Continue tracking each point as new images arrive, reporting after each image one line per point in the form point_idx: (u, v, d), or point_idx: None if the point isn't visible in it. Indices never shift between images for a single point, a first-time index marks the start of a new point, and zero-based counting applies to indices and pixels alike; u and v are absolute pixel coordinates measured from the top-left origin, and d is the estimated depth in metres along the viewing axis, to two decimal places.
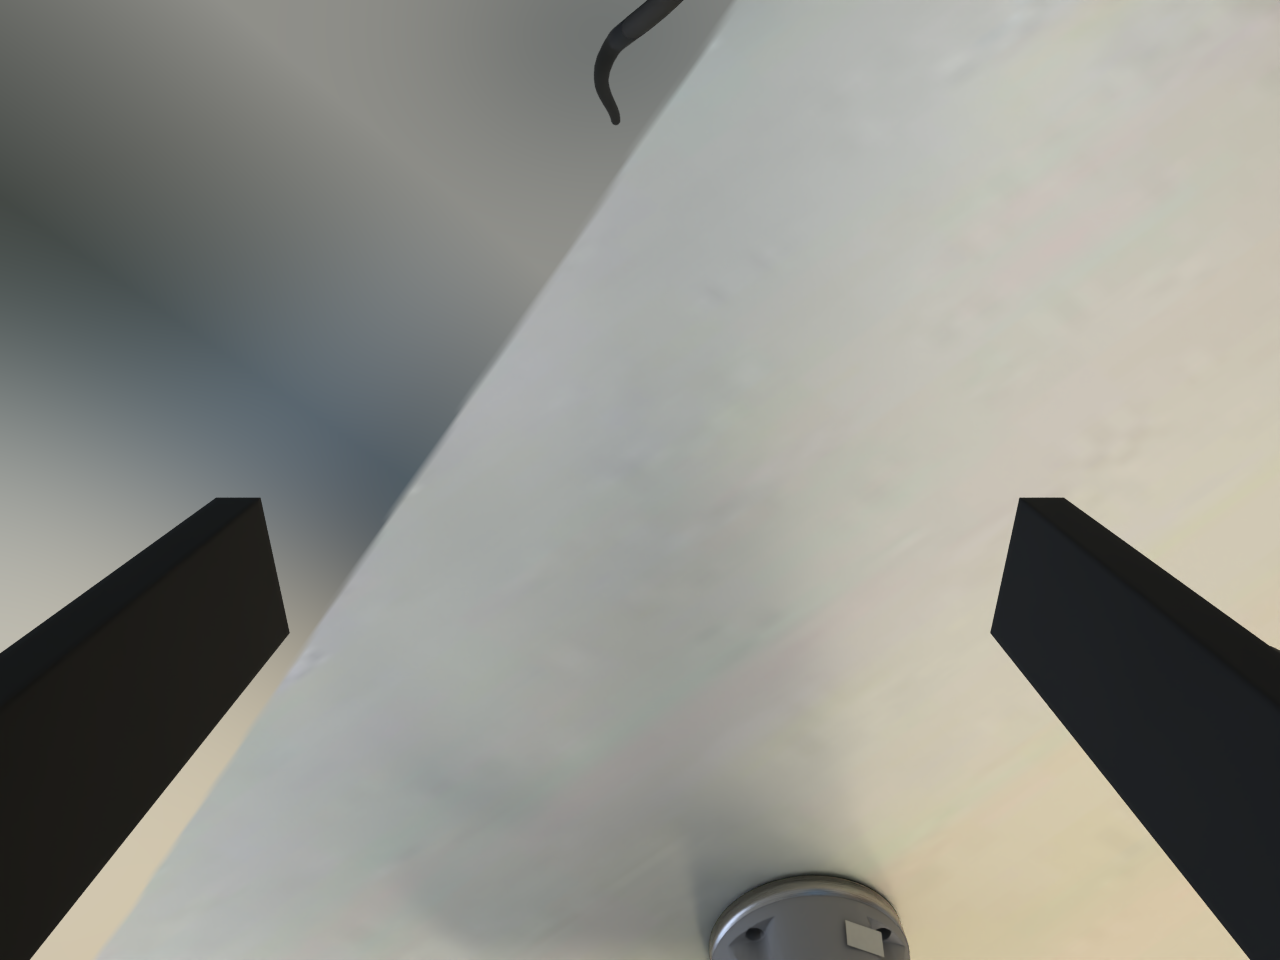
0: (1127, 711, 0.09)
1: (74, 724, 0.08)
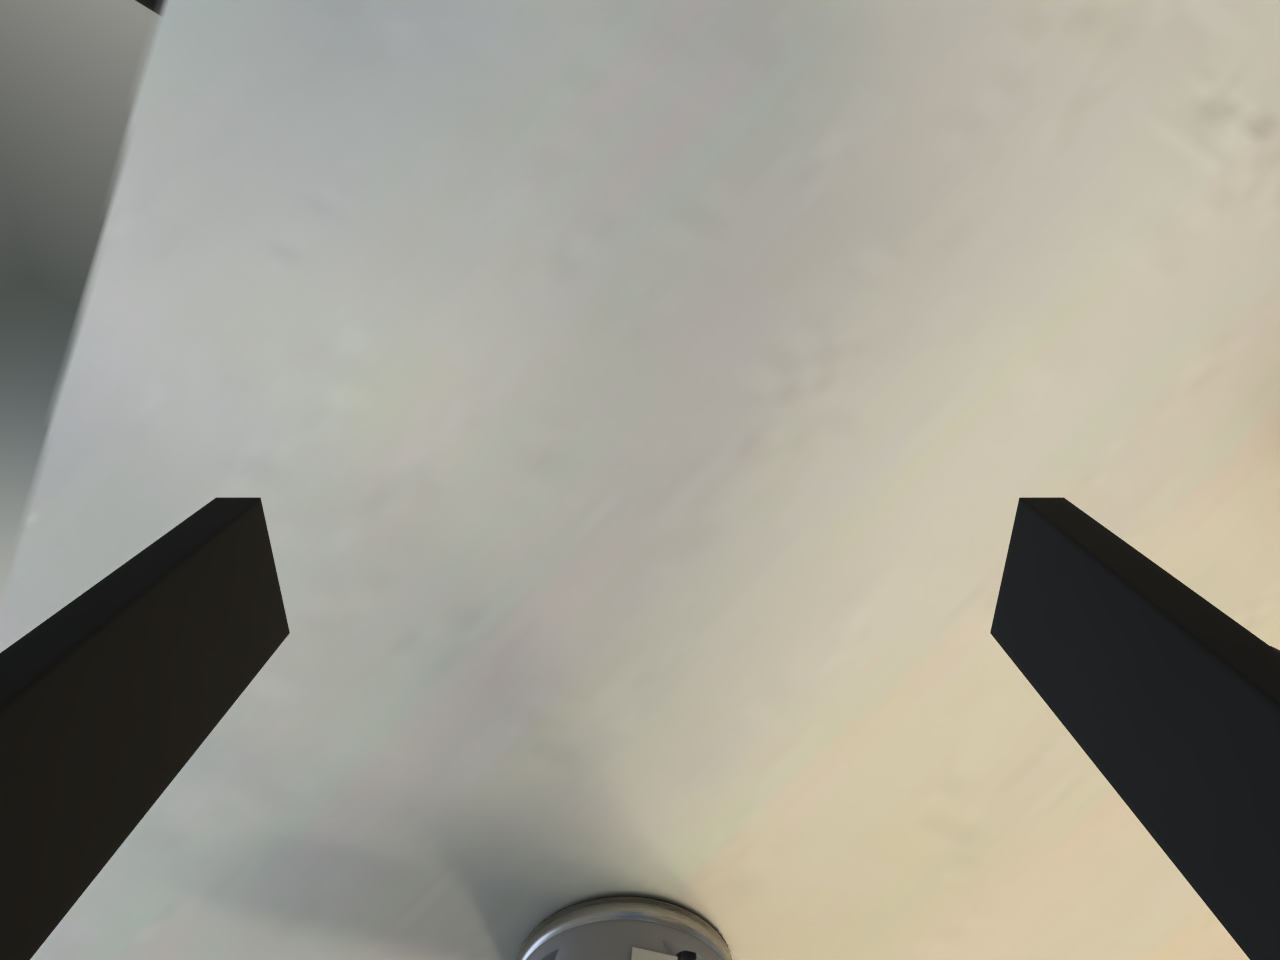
0: (1127, 711, 0.09)
1: (74, 724, 0.08)
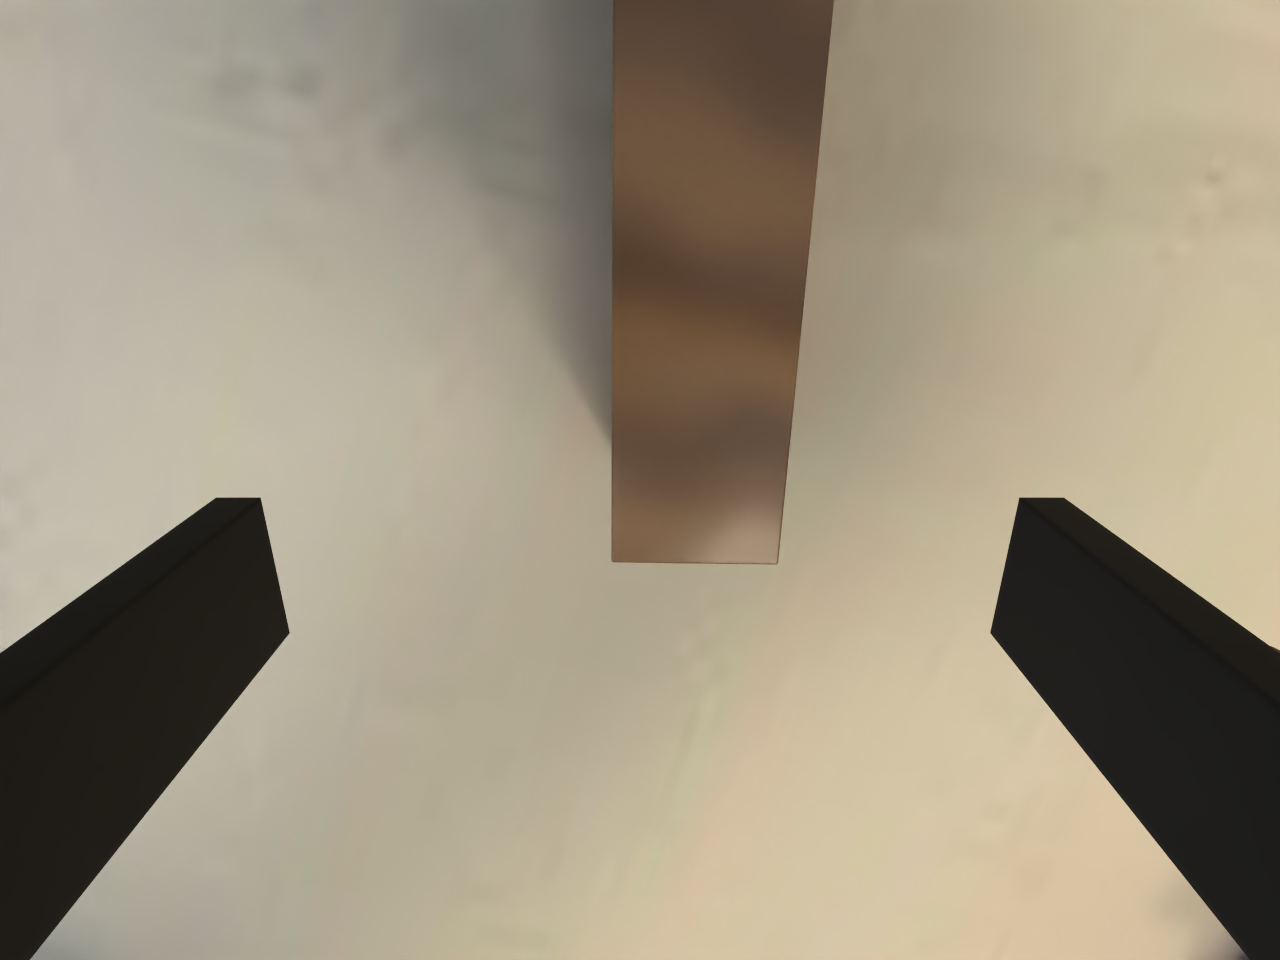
0: (1127, 711, 0.09)
1: (74, 723, 0.08)
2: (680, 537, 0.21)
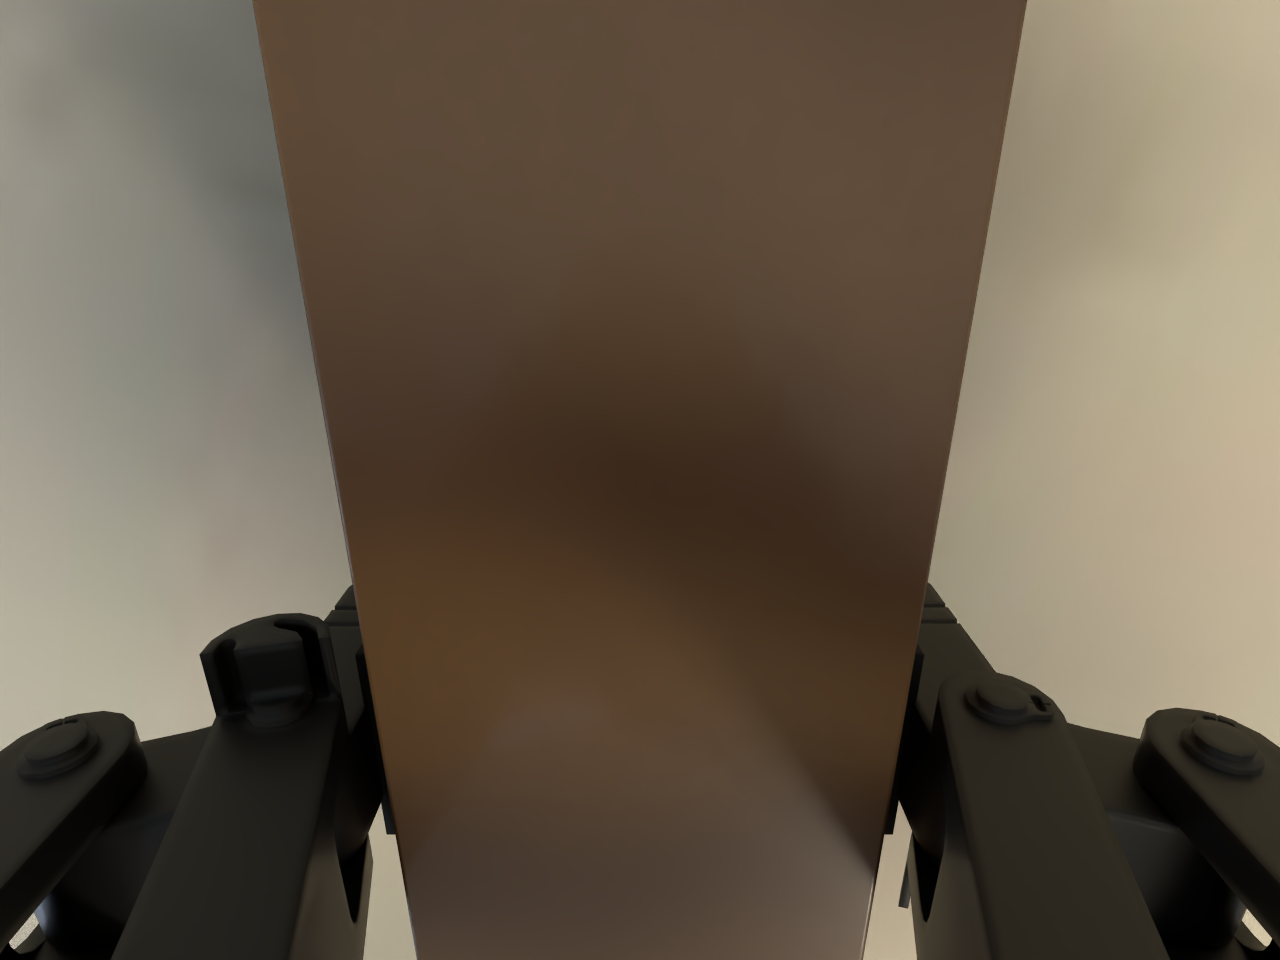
0: None
1: None
2: None
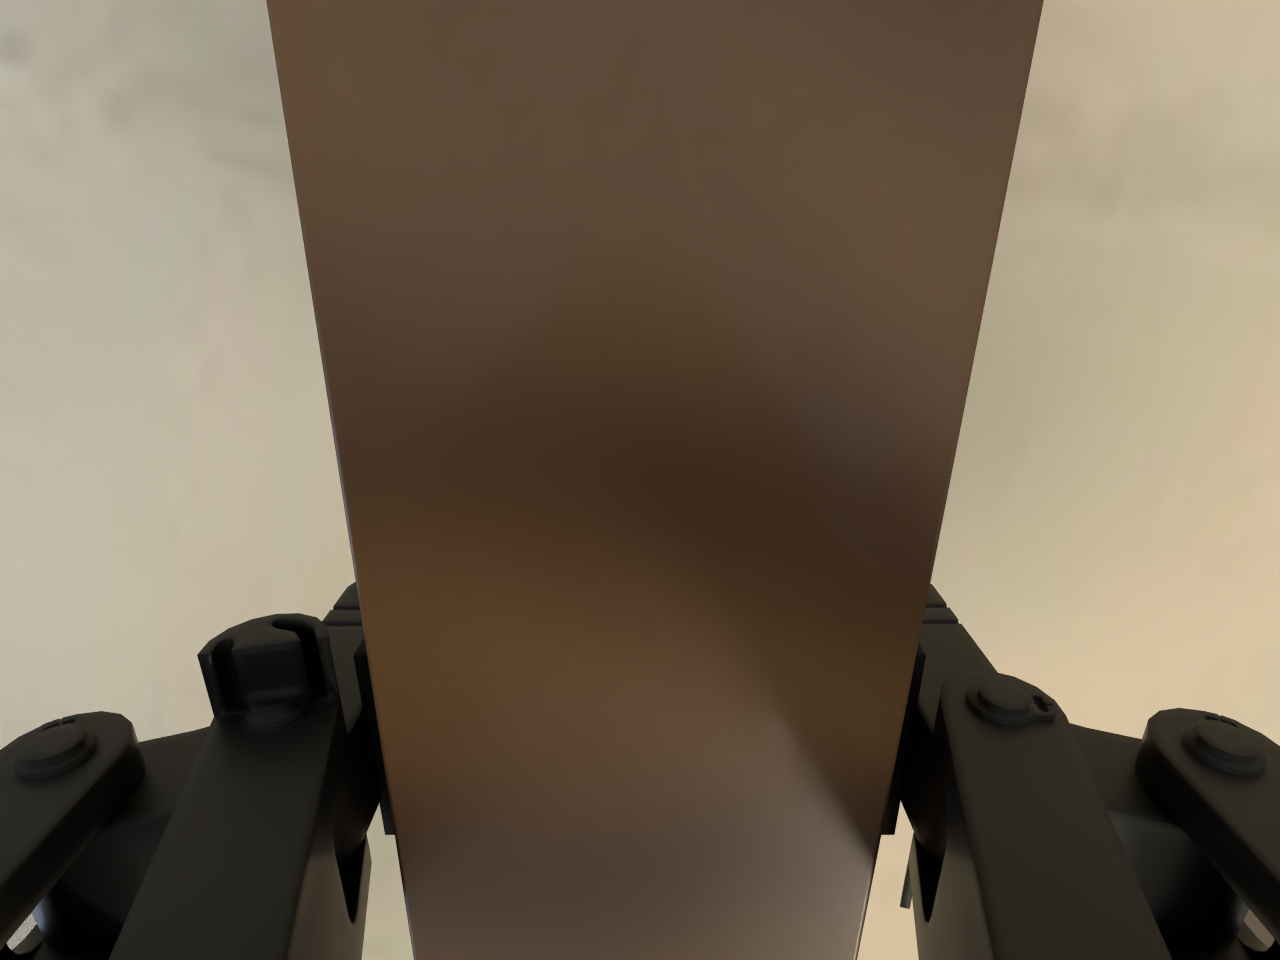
0: None
1: None
2: None
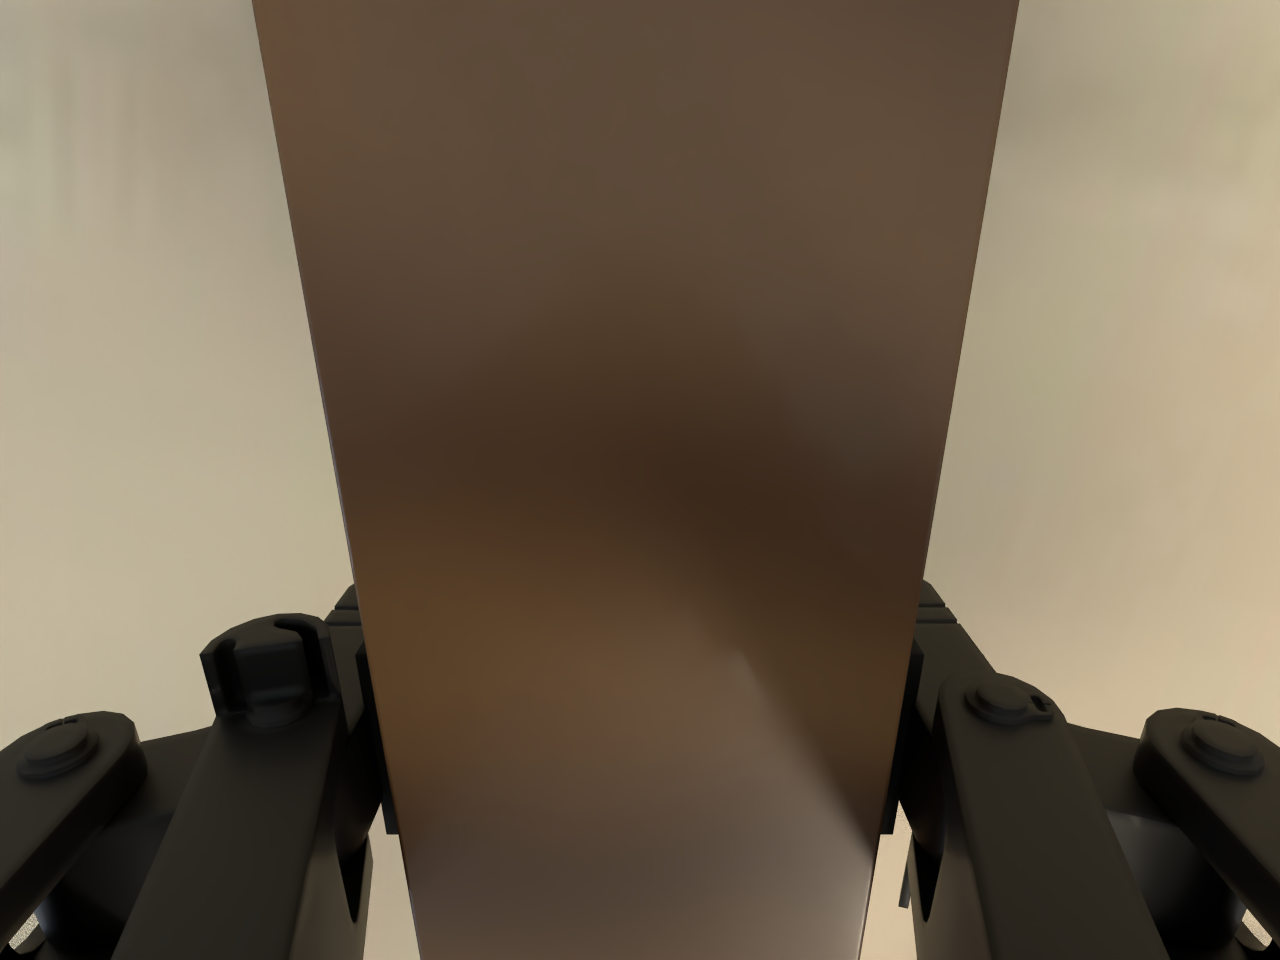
0: None
1: None
2: None
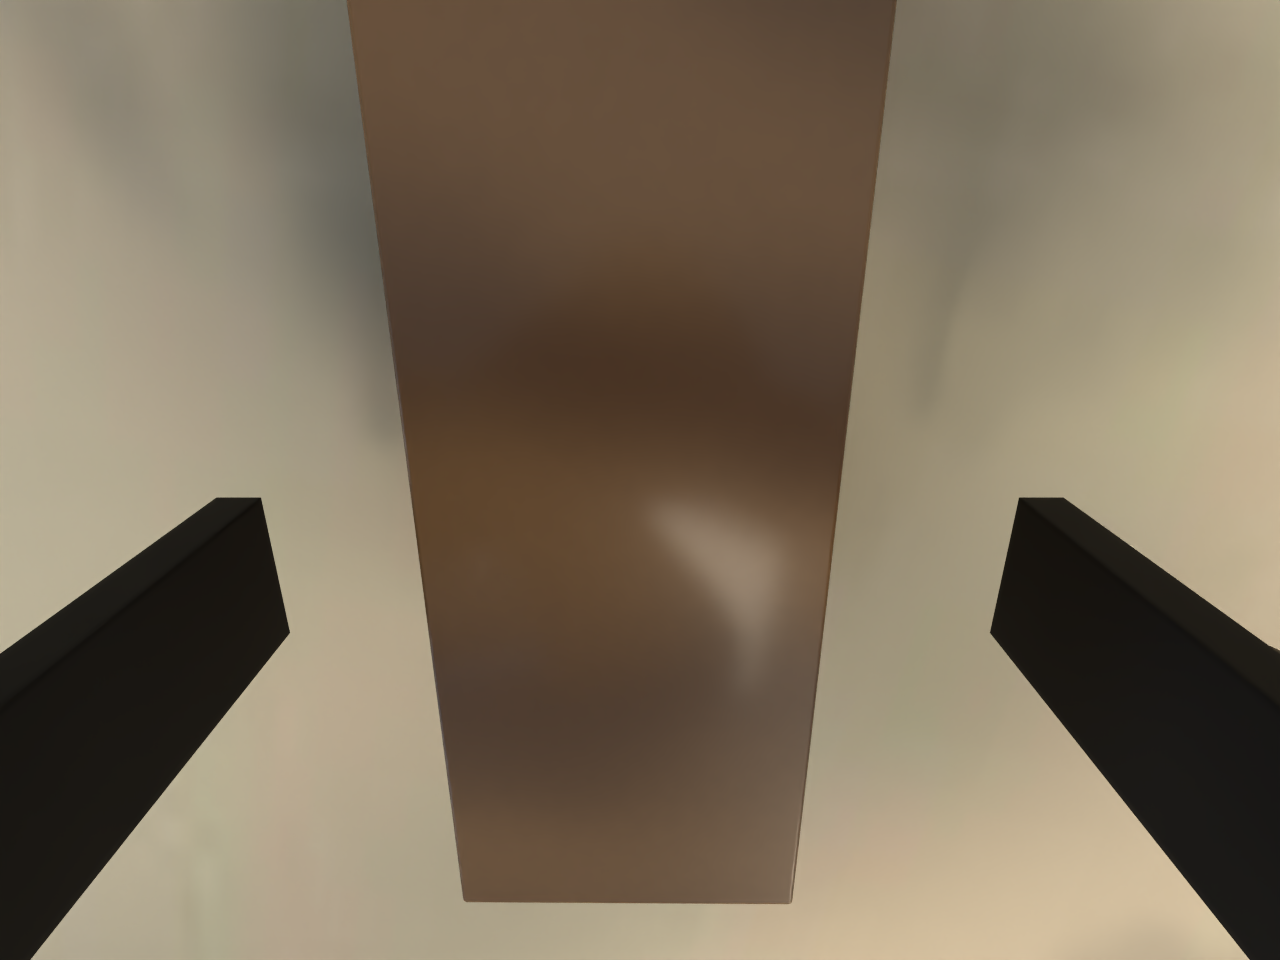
0: (1126, 711, 0.09)
1: (75, 724, 0.08)
2: (594, 863, 0.10)
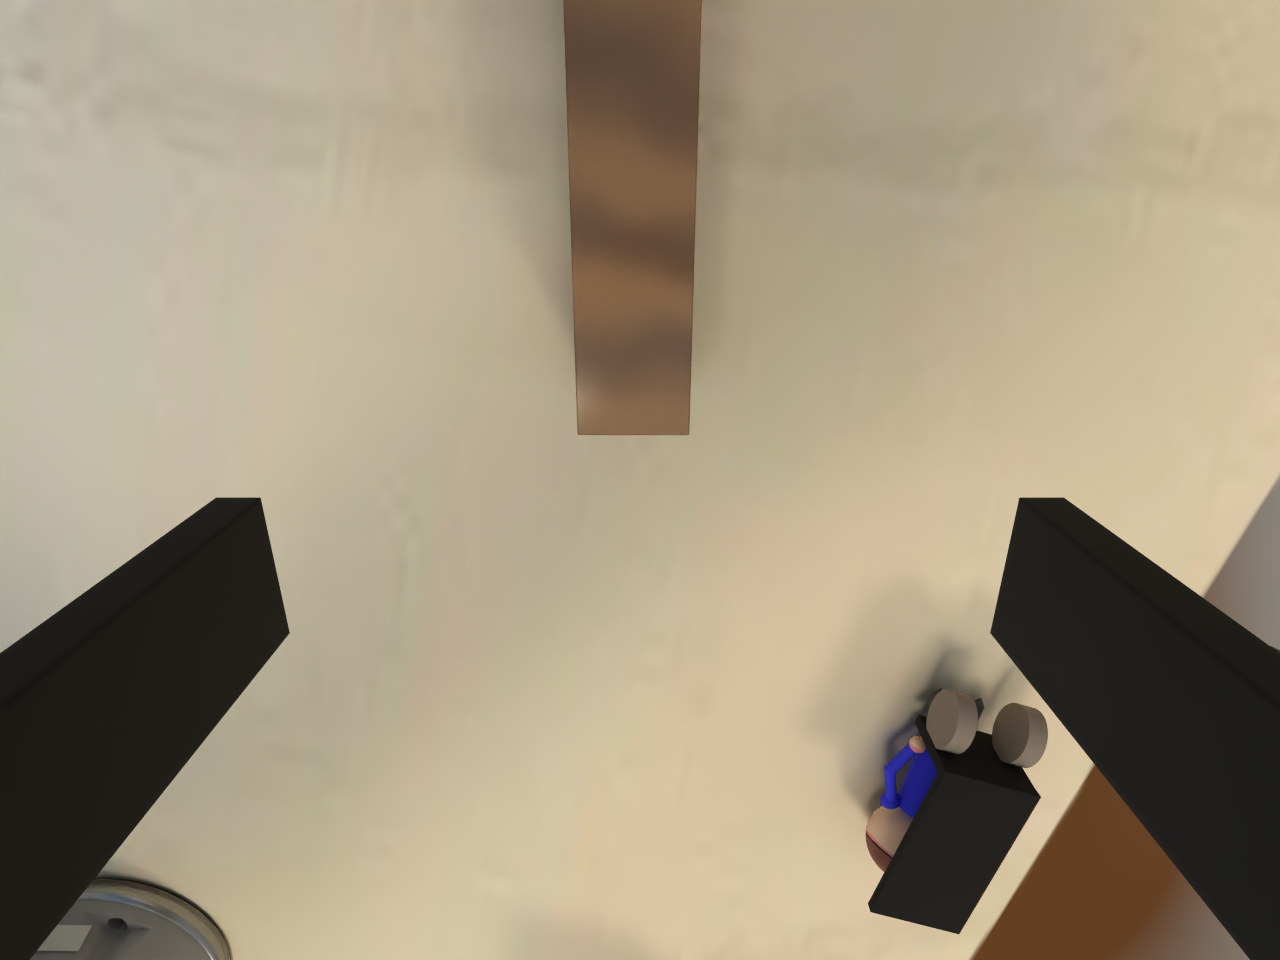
0: (1127, 711, 0.09)
1: (74, 723, 0.08)
2: (622, 416, 0.31)
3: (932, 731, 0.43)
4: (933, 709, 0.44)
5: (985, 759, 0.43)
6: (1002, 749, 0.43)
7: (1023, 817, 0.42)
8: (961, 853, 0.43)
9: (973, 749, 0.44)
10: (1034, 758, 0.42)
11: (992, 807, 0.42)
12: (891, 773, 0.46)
